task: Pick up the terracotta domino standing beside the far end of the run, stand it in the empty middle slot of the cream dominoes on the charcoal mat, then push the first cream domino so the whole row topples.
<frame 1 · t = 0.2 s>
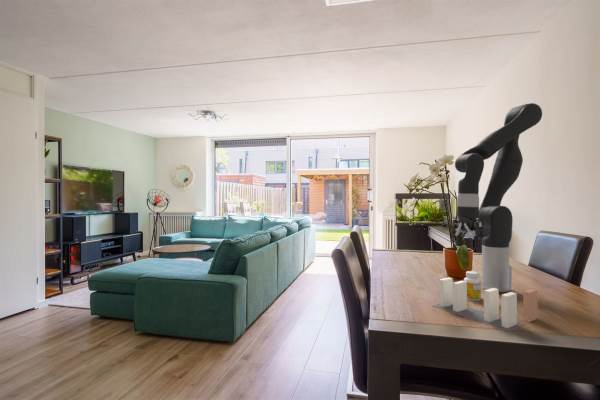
hand: (466, 247, 125), 17 cm above the table, tool pointing down, fingers open, 8 cm apart
domino 4: (509, 325, 92), resting on mat
supplement bottle: (472, 299, 117), on the table
domino 1: (446, 305, 109), resting on mat
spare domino: (530, 320, 96), on the table
domino 3: (491, 319, 96), resting on mat
mat: (474, 315, 101), on the table
domino 2: (459, 309, 105), resting on mat
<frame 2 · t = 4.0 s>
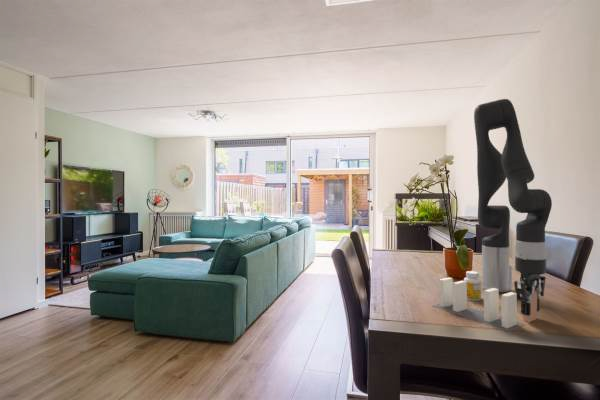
hand: (530, 312, 96), 2 cm above the table, tool pointing down, fingers closed on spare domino, 5 cm apart
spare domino: (530, 320, 96), on the table, touching gripper
everything else where it was.
when the fingers open (4 cm above the table, at t = 9.3 s): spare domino stays where it is, resting on mat.
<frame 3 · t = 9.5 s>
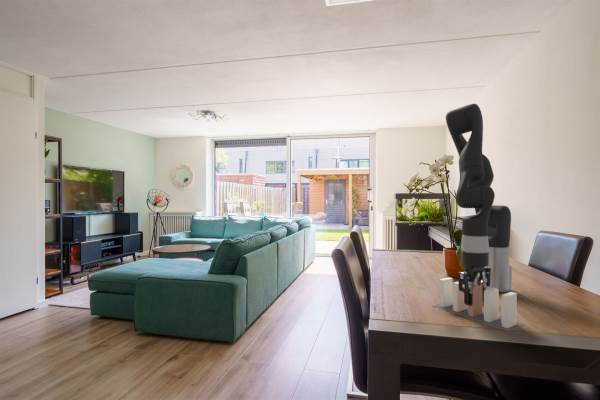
hand: (474, 302, 101), 4 cm above the table, tool pointing down, fingers open, 6 cm apart
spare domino: (475, 314, 101), resting on mat
everything else where it was.
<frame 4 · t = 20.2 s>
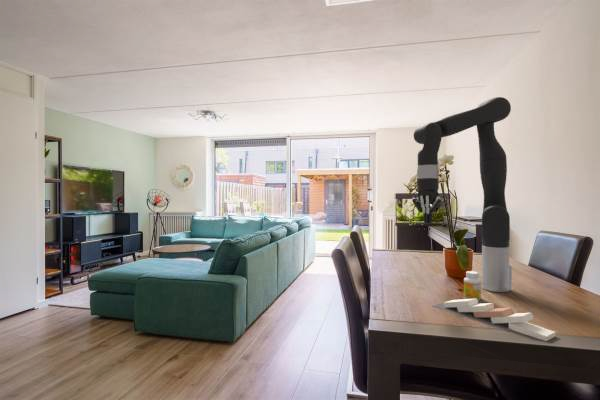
hand: (427, 223, 121), 27 cm above the table, tool pointing down, fingers closed
domino 4: (513, 323, 91), point 1 cm above the table, tilted 93°, touching domino 3, mat
domino 1: (448, 303, 108), point 1 cm above the table, tilted 71°, touching domino 2, mat
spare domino: (478, 313, 100), point 1 cm above the table, tilted 71°, touching domino 2, domino 3, mat
domino 3: (496, 318, 95), point 1 cm above the table, tilted 70°, touching domino 4, mat, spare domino
domino 2: (462, 308, 104), point 1 cm above the table, tilted 72°, touching domino 1, mat, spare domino
everything else where it was.
at the end: domino 4 tilted 93°; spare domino 1.0 cm off-centre on the mat, point 1.2 cm above the mat's base; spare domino tilted 71° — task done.
